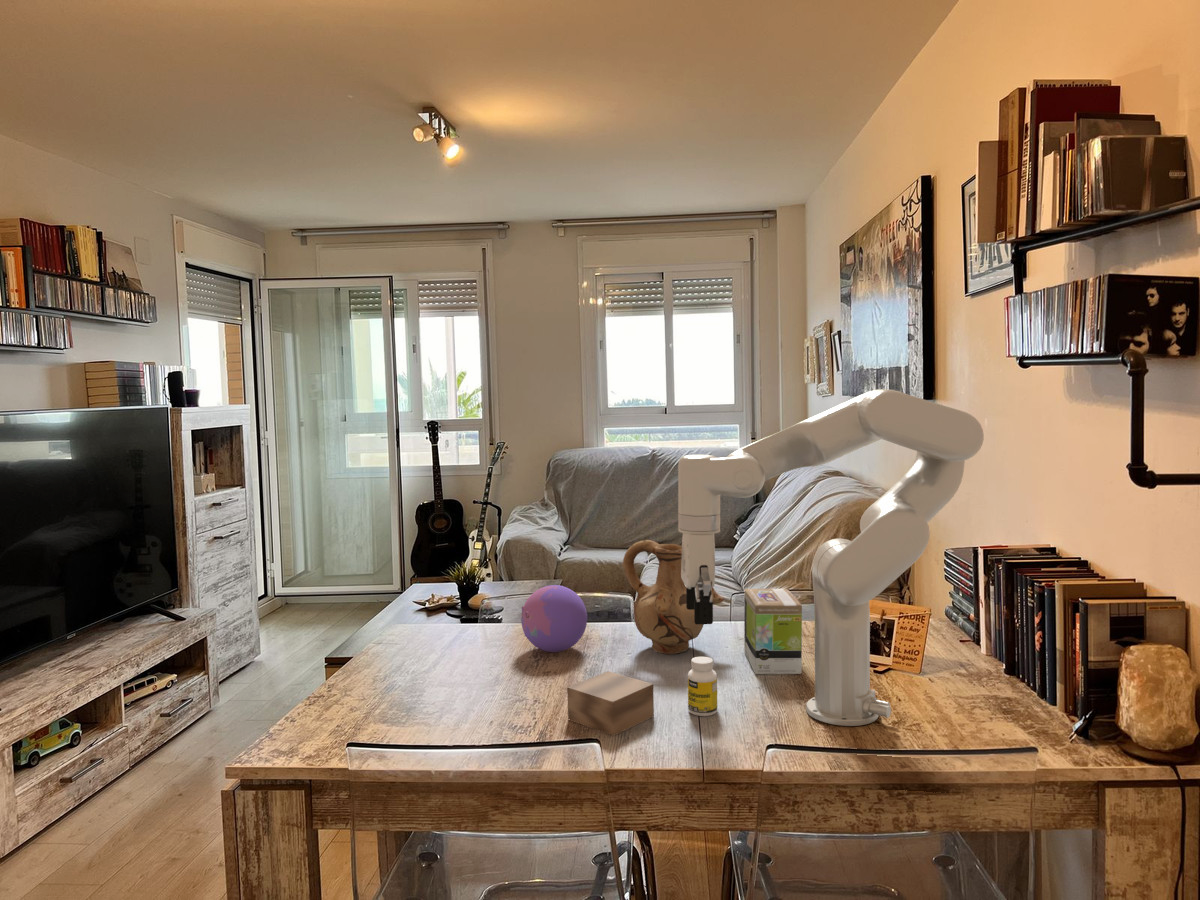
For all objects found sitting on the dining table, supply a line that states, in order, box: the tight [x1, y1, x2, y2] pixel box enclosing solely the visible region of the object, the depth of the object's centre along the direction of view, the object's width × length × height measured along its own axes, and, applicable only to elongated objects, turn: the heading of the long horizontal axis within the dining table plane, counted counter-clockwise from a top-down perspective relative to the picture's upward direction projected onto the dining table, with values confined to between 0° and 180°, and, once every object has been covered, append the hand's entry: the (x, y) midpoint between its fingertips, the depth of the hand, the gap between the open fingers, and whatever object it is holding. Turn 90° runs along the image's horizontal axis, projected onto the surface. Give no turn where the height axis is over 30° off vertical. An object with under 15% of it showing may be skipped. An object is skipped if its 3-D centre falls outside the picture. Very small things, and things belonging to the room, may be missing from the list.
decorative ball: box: [520, 584, 588, 653], centre depth 190 cm, size 15×15×15 cm
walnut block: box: [566, 671, 655, 736], centre depth 151 cm, size 11×11×6 cm
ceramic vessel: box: [622, 539, 725, 655], centre depth 189 cm, size 18×19×25 cm
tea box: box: [743, 588, 803, 675], centre depth 178 cm, size 15×10×15 cm
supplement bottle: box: [687, 656, 718, 717], centre depth 153 cm, size 5×5×10 cm
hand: (699, 616), depth 152 cm, fingers open, 9 cm apart
